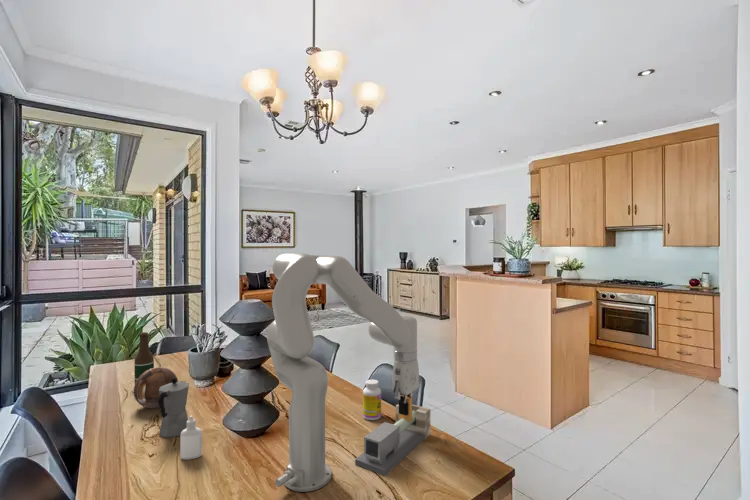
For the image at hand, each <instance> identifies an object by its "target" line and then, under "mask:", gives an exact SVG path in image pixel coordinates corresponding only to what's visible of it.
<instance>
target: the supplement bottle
mask: <svg viewBox="0 0 750 500" xmlns="http://www.w3.org/2000/svg"><path fill="white" fill-rule="evenodd" d="M379 385H380V384H379V380H377V379H368V380H366V381H365V387H364V388H363V390H362V416H363V418H364V419H365V420H368V421H377V420H379V419H380V418H381V416H382V390H381V388H380V387H379Z"/></svg>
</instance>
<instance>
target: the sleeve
mask: <svg viewBox="0 0 750 500" xmlns="http://www.w3.org/2000/svg"><path fill="white" fill-rule="evenodd" d="M399 444H400V426H397V425H394V424H393V423H389V422H386V421H384V422H383V423H381V424H380V425H379V426H378V427H376V428H375V429H373V430H372V431H370V432H369V433H367V434H366V435H365V436H364V437H363V453H364V455H365V456H366V459H367V460H370V461H373V462H375V463H378V464H383V463H384V462H385V461H386V455H387V454H388V453H389V452H392V453H395V452H396V451H397V450H398V445H399Z"/></svg>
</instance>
